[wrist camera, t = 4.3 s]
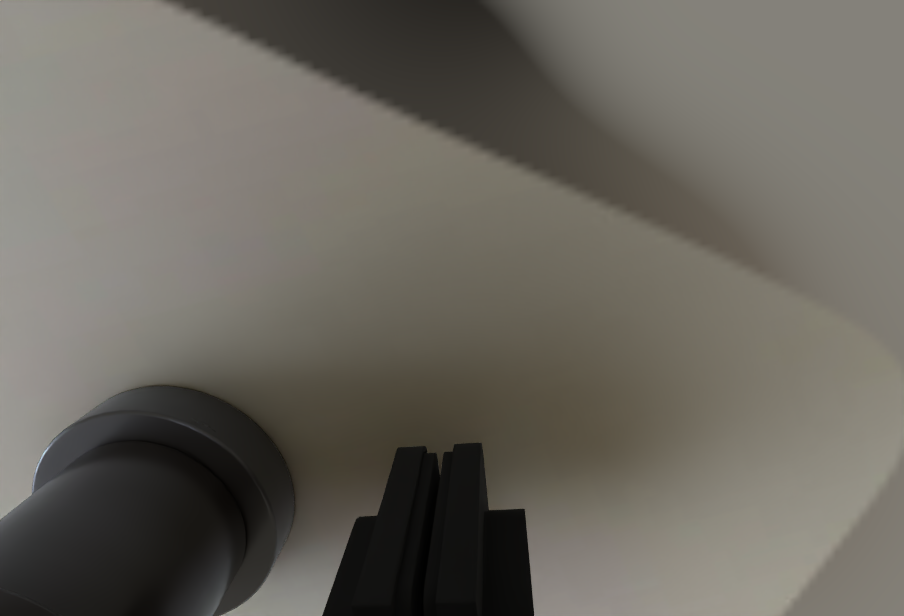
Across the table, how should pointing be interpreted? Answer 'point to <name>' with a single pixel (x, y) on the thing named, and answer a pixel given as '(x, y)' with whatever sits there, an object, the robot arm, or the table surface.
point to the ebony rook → (148, 512)
